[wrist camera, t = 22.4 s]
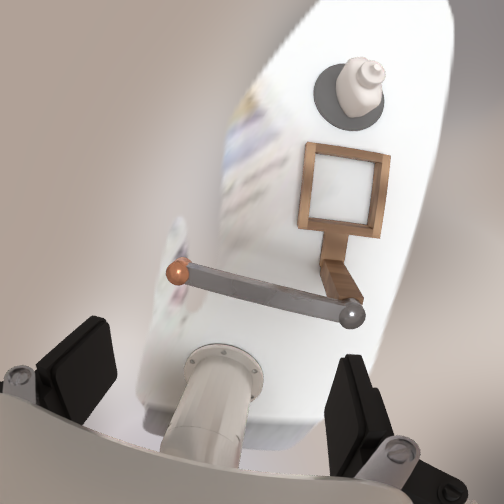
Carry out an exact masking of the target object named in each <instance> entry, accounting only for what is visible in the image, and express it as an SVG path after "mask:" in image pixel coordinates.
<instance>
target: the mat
mask: <svg viewBox="0 0 504 504" xmlns="http://www.w3.org/2000/svg"><path fill="white" fill-rule="evenodd" d="M344 66H345V64H337V65H333V66H331V67H329V68H327V69H326V70H324V71H323V72H322V73H321V74H320V76H319V77H318V79H317V81H316V84H315V87H314V100H315V104H316V106H317V109H318V110H319V112H320V114H321V115H322V116H323V117H324V118H325V119H326V120H327V121H328V122H329V123H330V124H332V125H334V126H335V127H337V128H340V129H343V130H348V131H358V130H363V129H366V128H368V127H370V126H371V125H373V124H374V123H375V122H376V121H377V120H378V119H379V118H380V116H381V114H382V112H383V108H384V95H383V91H382V98H381V102H380V104H379V105H378V106H377V107H376V108H374V109H373V110H371V111H370V112H368V113H367V114H365V115H363V116H361V117H354V118H350V117H348V116H347V115H346V114H345V112H344V111H343V109H342V108H341V106H340V104H339V101H338V98H337V94H336V81H337V78H338V76H339V74H340V73H341V71H342V69H343V68H344Z"/></svg>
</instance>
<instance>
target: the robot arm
mask: <svg viewBox="0 0 504 504" xmlns="http://www.w3.org/2000/svg"><path fill="white" fill-rule="evenodd" d="M36 367H37V370H36V371H34V370H33V369H32V368H30V367H29V366H24V365H20V366H15V367H13V368H11V369H10V370H8V371H7V372H6V374H5V376H4V381H2V382H0V504H478V503H477V502H476V501H475V500H473V501H472V502H471V501H470V500H468V499H467V498H468V490H467V487H466V486H465V484H464V483H463V482H462V481H460V480H459V479H457V478H455V477H453V476H451V475H449V474H447V473H445V472H443V471H441V470H439V469H437V468H435V467H433V466H431V465H429V464H427V463H425V462H423V461H422V460H420V459H419V458H420V455H421V454H420V448H419V446H418V445H417V443H416V442H415V441H414V440H412V439H410V438H408V437H405V436H400V435H396V436H394V433H393V430H392V427H391V424H390V420H389V417H388V414H387V412H386V409H385V406H384V403H383V400H382V397H381V394H380V392H379V390H378V388H372V385H371V382H370V379H369V376H368V373H367V370H366V367H365V364H364V361H363V359H362V356H361V355H353V354H347V355H346V356H345V358H340V361H339V364H338V368H337V371H336V374H335V378H334V381H333V384H332V387H331V390H330V394H329V397H328V400H327V403H326V406H325V411H324V417H325V426H326V435H327V445H328V455H329V467H330V476H313V475H293V474H280V473H269V472H260V471H251V470H243V469H238V468H239V462H240V457H241V451H242V446H243V440H244V434H245V428H246V423H247V417H248V411H249V405H250V402H252V401H253V400H255V399H256V398H257V397H258V396H259V394H260V392H261V390H262V387H263V380H264V379H263V373H262V370H261V367H260V366H259V364H258V363H257V361H256V360H255V359H254V358H253V357H252V356H250V355H249V354H248V353H246V352H244V351H242V350H240V349H238V348H235V347H233V346H228V345H223V344H213V345H207V346H204V347H201V348H199V349H197V350H195V351H194V352H193V353H192V354H191V355H190V356H189V358H188V359H187V361H186V364H185V367H184V377H185V381H186V383H187V386H186V388H185V390H184V393H183V395H182V397H181V399H180V402H179V404H178V406H177V408H176V411H175V413H174V415H173V417H172V420H171V422H170V424H169V426H168V429H167V431H166V433H165V435H164V438H163V440H162V442H161V446H160V452H157V451H153V450H150V449H146V448H143V447H139V446H136V445H133V444H130V443H127V442H124V441H121V440H118V439H116V438H113V437H110V436H107V435H105V434H102V433H99V432H97V431H94V430H92V429H89V428H87V427H84V426H82V425H83V424H84V422H85V421H86V420H87V418H88V417H89V416H90V414H91V413H92V411H93V410H94V408H95V407H96V406H97V405H98V403H99V402H100V400H101V399H102V398H103V396H104V395H105V393H106V392H107V391H108V390H109V388H110V387H111V386H112V384H113V383H114V382H115V380H116V378H117V368H116V363H115V358H114V353H113V346H112V340H111V334H110V327H109V324H108V323H107V322H106V320H105V319H104V318H101V317H97V316H91V317H90V318H88V319H87V320H86V321H85V322H84V323H82V324H81V325H80V326H79V327H78V328H77V329H75V330H74V331H73V332H72V333H71V334H70V335H68V336H67V337H66V338H65V339H64V340H63V341H61V343H59V344H58V345H57V346H56V347H55V348H54V349H52V350H51V351H50V352H49V353H48V354H47V355H46V356H45V357H43V358H42V359H41V360H40V361H39V362H38V363H37V364H36Z"/></svg>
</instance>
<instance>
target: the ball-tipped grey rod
mask: <svg viewBox="0 0 504 504" xmlns="http://www.w3.org/2000/svg"><path fill="white" fill-rule="evenodd" d="M166 276H167V279H168V280H169V281H170V282H171V283H172V284H174V285H183V284H186V285H190V286H194V287H197V288H201V289H204V290H208V291H212V292H215V293H219V294H223V295H227V296H230V297H234V298H238V299H242V300H246V301H250V302H254V303H258V304H262V305H266V306H270V307H274V308H278V309H282V310H286V311H290V312H295V313H299V314H303V315H308V316H312V317H316V318H321V319H325V320H330V321H334V322H339V323H340V324H341V325H342V326H343V327H344V328H346V329H355V328H358V327H359V326H361V325H362V324H363V322H364V320H365V317H366V314H365V311H364V309H363V307H362V305H361V303H360V302H359V301H358V300H356V299H353V298H349V299H345V300H344V301H342V300H338V299H333V298H329V297H325V296H321V295H317V294H312V293H308V292H304V291H300V290H296V289H292V288H288V287H284V286H280V285H276V284H272V283H268V282H264V281H260V280H256V279H252V278H248V277H244V276H240V275H236V274H232V273H228V272H225V271H221V270H217V269H213V268H209V267H206V266H202V265H198V264H194V263H192V262H191V261H190V260H189V259H187V258H185V257H180V258H177V259H176V260H175V261H174V262H173V263H171V264H170V265H169V266H168V267H167V270H166Z"/></svg>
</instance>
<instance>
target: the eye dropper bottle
mask: <svg viewBox="0 0 504 504" xmlns="http://www.w3.org/2000/svg"><path fill="white" fill-rule="evenodd" d="M385 77H386V74H385V69H384V68H383V66H382V65H381V64H380V63H378V62H376V61H371V60H368V59H366V58H364V57H357V58H351V59H349V60H348V61H347V63H346V64H345V66H344V68H343V69H342V71H341V73H340V74H339V76H338V78H337V81H336V94H337V98H338V101H339V104H340V106H341V108H342V109H343V111H344V112H345V114H346V115H347V116H348V117H350V118H354V117H361V116H363V115H365V114H367V113H368V112H370V111H371V110H373V109H374V108H376V107H377V106H378V105H379V104H380V102H381V98H382V84H381V83H382V82H383V81H384V79H385Z"/></svg>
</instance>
